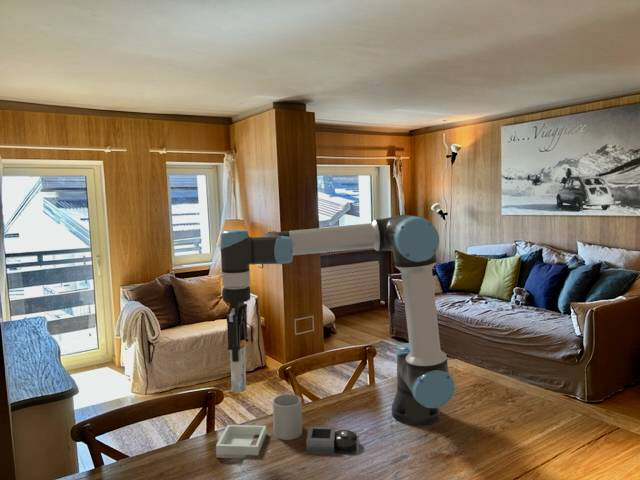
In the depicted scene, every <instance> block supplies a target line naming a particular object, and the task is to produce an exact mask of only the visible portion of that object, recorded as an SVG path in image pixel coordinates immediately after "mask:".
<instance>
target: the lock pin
mask: <svg viewBox="0 0 640 480" xmlns="http://www.w3.org/2000/svg"><path fill="white" fill-rule="evenodd" d="M246 343H247V342H246V340H245V339H240V349H241V357H242V372H241V373H232V368H231V367H230V375H231V376H230V381H231V391H232V392H233V393H243V392H245V391H247V375H246V373H247V372H246V366H245V345H246V346H247V344H246ZM229 351H230V358H231V350H229Z"/></svg>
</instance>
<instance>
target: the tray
mask: <svg viewBox="0 0 640 480" xmlns="http://www.w3.org/2000/svg"><path fill="white" fill-rule="evenodd" d="M255 436H259V437H258V438H257V441H256V444H252V442H253V440H254V437H255ZM266 436H267V425H250V424H249V425H245V424H242V425H241V424H227V425H226V427H225V429H224V431H223V432H222V434H221V436H220V438H219V439H218V441H217V442H216V445H215V453H216V454H215V456H216V458H220V459H221V458H222V459H223V458H224V459H225V458H226V459H245V458H246V456H259V454H260V451H261V449H262V446H263V444H264V441H265V439H266Z"/></svg>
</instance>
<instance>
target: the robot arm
mask: <svg viewBox="0 0 640 480" xmlns="http://www.w3.org/2000/svg"><path fill="white" fill-rule="evenodd" d="M439 245H440V235H439V232H438V229H437V227H436V226H435V225H434V224H433V223H432V222H431V221H429V220H428V219H426V218H424V217H422V216H417V215H411V214H400V215H395V216H391V217H384V218H377V219H373V220H372V221H371V222H370V223H361V224H360V223H359V224H351V225H350V224H349V225H339V226H338V225H337V226H327V227H318V228H308V229H305V228H304V229H295V230H289V231H288V230H287V231H286V230H285V231H276V230H273V231H272V230H271V231H268V232H266V233H265V234H263V236H257V237H256V236H254V237H253V236H250V235H249V231H248V230H247V229H228V230H224V231H222V233H221V234H220V247H219V248H220V261H221V264H220V265H221V274H220V275H219V277H220V278H221V280H222V281H221V283H222V284H221V285H222V287H223V288H222V300H223V302H224V303H229V308H228V313H227V314H226V316H225V318H226V326H227V329H226V331H227V350H228V351H230V350H231V357H230V369H231V368H232V373H241V372H242V357H241V349H240V339H245V340H246V343H248V342H249V340H250V339H249V338H248V315H247V314H248V313H247V312H248V304H247V302H248V301H250V300H251V287H250V285H251V275H250V272H251V271H250V265H252V266H253V265H282V264H291V263H292V262H293V261H294V260H293V258H294V257H293V256H301V255H313V254H321V253H333V252H343V251H344V252H345V251H355V250H356V251H357V250H365V249H374V250H375V251H376V252H380V251H382V252H383V251H391V252H393V253H392V255H393V262H394V267H395V268H396V269H398V270H399V272H400V274H401V275H400V276H401V282H402V283H401V284H402V292H403V300H404V308H405V310H404V311H405V317H406V318H405V319H406V327H407V334H408V335H407V336H408V342H406V343H401V344H400V345H398V347H397V348H396V349H397V350H396V392H395V394H394V398H393V401H392V403H391V415H392V417H393V418H394V419H395V420H396V421H398V422H399V423H403V424H406V425H409V426H429V425H431V424H432V425H433V424H435V423H437V422H438V421H439V420H440V418H441V416H440V415H441V412H440V411H441V409H440V408H441V407H443V406H445V405H446V404H448V403H449V401H451V400H452V398H453V397H454V394H455V391H456V390H455V389H456V385H455V382H454V378H453V376H452V375H451V374H450V373H449V365H448V357H447V353H445V352H444V351H442V349H441V340H440V333H439V324H438V323H439V322H438V314H437V305H436V295H435V294H436V293H435V286H434V285H435V284H434V277H433V268H434V267H435V266H436V264H437V263H438V261H437V260H438V259H437V251H438V249H439V247H440V246H439ZM246 366H247V344H246V345H245V367H246Z"/></svg>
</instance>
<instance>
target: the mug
mask: <svg viewBox="0 0 640 480" xmlns="http://www.w3.org/2000/svg"><path fill="white" fill-rule="evenodd" d="M302 408H303V407H302V398H301V397H300V396H299V395H296V394H291V393H289V394H288V393H285V394H279V395H277V396H275V397H274V399H272V421H273V422H272V423H273V428H272V429H273V433H272V434H273V435H274V437H275V438H276V439H279V440H282V441H286V440H287V441H291V440H295V439H297V438H299V437H301V436H302V435H303V412H302V410H303V409H302Z"/></svg>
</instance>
